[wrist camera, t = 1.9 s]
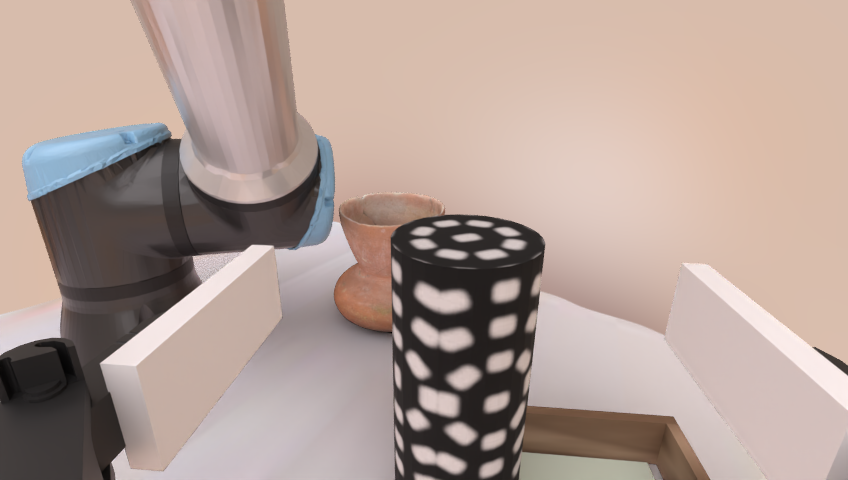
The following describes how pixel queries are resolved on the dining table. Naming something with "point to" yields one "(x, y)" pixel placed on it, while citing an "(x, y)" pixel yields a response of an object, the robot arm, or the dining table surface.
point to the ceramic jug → (375, 253)
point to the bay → (604, 446)
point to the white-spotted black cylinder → (462, 345)
